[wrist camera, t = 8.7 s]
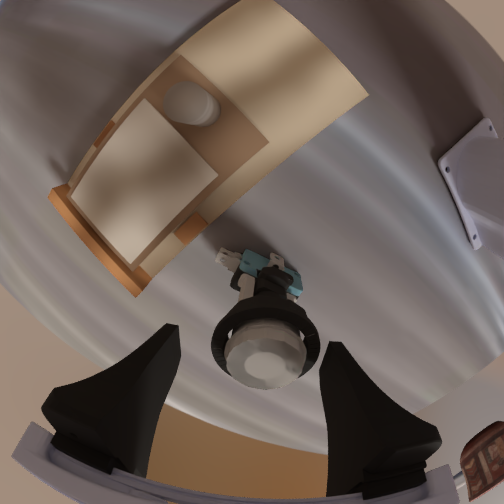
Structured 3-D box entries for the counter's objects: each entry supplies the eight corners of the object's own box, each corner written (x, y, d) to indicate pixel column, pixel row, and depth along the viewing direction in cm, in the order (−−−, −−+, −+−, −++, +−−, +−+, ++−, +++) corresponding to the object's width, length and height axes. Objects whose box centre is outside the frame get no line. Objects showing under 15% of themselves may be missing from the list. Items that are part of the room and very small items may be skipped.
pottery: (461, 439, 35) (480, 495, 18) (514, 403, 31) (538, 451, 15) (449, 460, 41) (462, 506, 24) (496, 431, 37) (514, 473, 20)
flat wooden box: (364, 97, 15) (380, 90, 13) (150, 279, 22) (135, 297, 19) (259, -5, 13) (256, -24, 10) (69, 189, 19) (47, 197, 16)
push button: (207, 275, 21) (167, 366, 12) (235, 216, 19) (204, 286, 10) (281, 309, 22) (285, 408, 13) (315, 256, 20) (346, 346, 11)
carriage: (269, 142, 16) (269, 141, 11) (140, 263, 20) (106, 300, 15) (187, 60, 14) (156, 33, 9) (77, 192, 18) (30, 210, 13)
